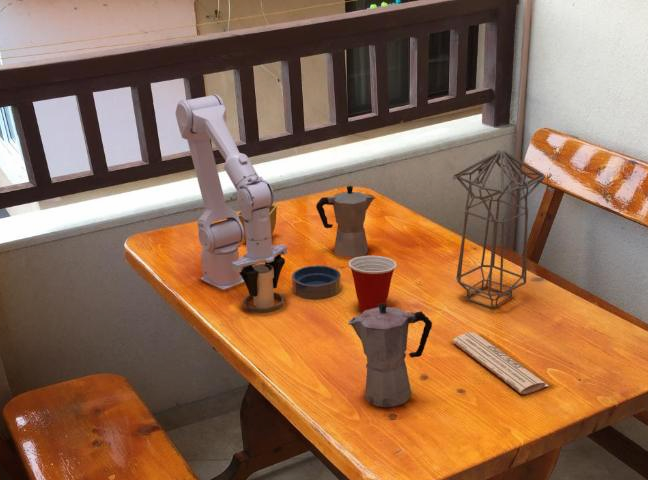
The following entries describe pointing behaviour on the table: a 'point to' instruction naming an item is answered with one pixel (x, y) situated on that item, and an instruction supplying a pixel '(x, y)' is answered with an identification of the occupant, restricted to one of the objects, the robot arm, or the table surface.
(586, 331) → the table surface
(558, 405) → the table surface
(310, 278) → the planter
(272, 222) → the flower pot
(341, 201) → the coffeepot
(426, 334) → the moka pot
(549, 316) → the table surface
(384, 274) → the plastic cup
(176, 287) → the table surface
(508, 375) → the newspaper
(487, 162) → the geometric lantern
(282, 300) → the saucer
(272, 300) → the clay pot
